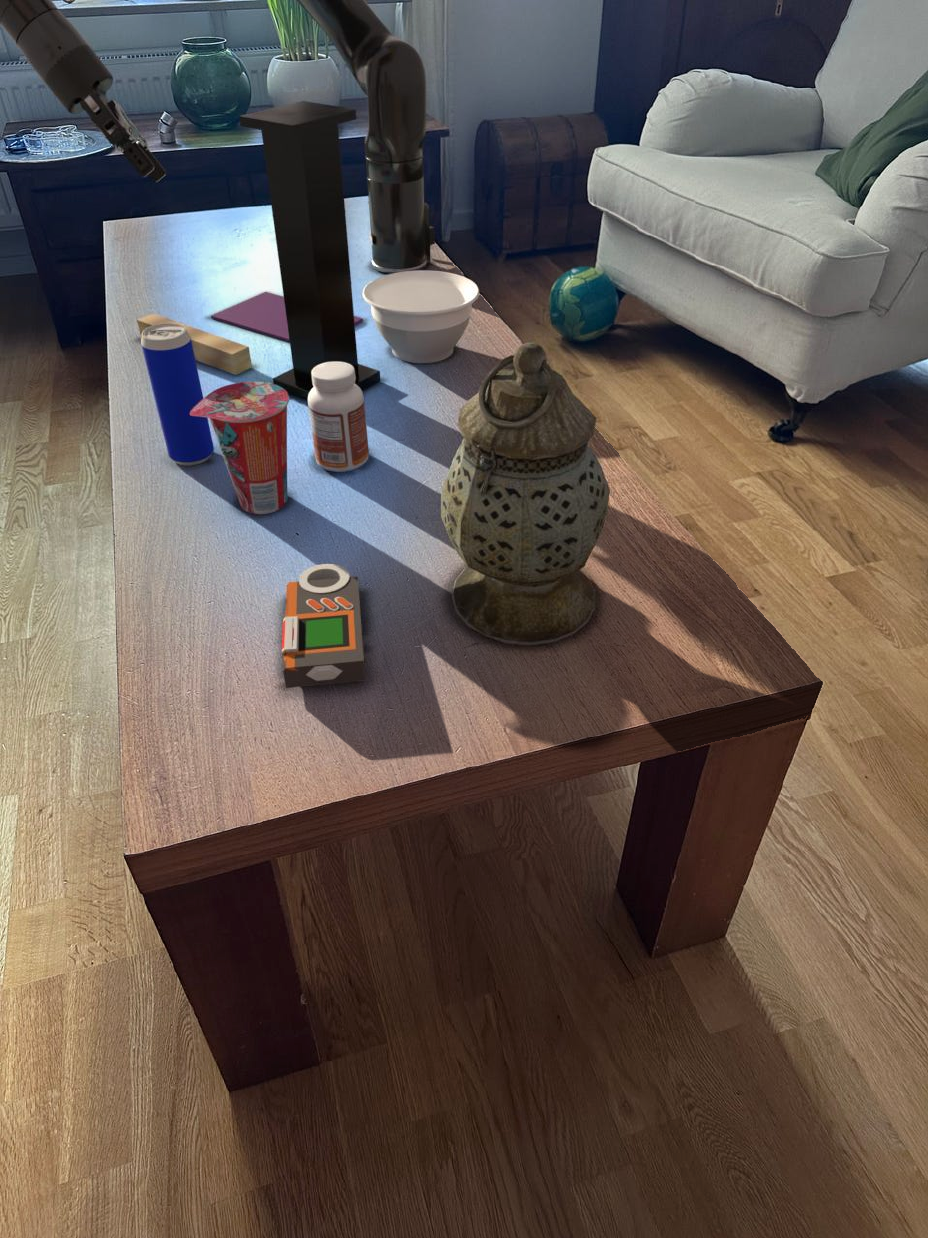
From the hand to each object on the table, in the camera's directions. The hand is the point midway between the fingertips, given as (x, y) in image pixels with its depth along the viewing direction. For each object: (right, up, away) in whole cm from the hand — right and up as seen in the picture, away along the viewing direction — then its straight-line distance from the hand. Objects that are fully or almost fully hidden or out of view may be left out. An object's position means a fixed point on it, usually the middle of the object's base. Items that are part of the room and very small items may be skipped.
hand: (155, 175), depth 121 cm
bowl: (+36, -22, +5) cm, 43 cm away
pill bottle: (+28, -42, -18) cm, 54 cm away
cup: (+20, -48, -25) cm, 58 cm away
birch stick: (+4, -23, +4) cm, 24 cm away
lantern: (+48, -59, -38) cm, 85 cm away
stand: (+24, -30, -3) cm, 38 cm away
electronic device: (+30, -62, -41) cm, 80 cm away
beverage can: (+10, -42, -17) cm, 46 cm away
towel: (+15, -15, +14) cm, 25 cm away
